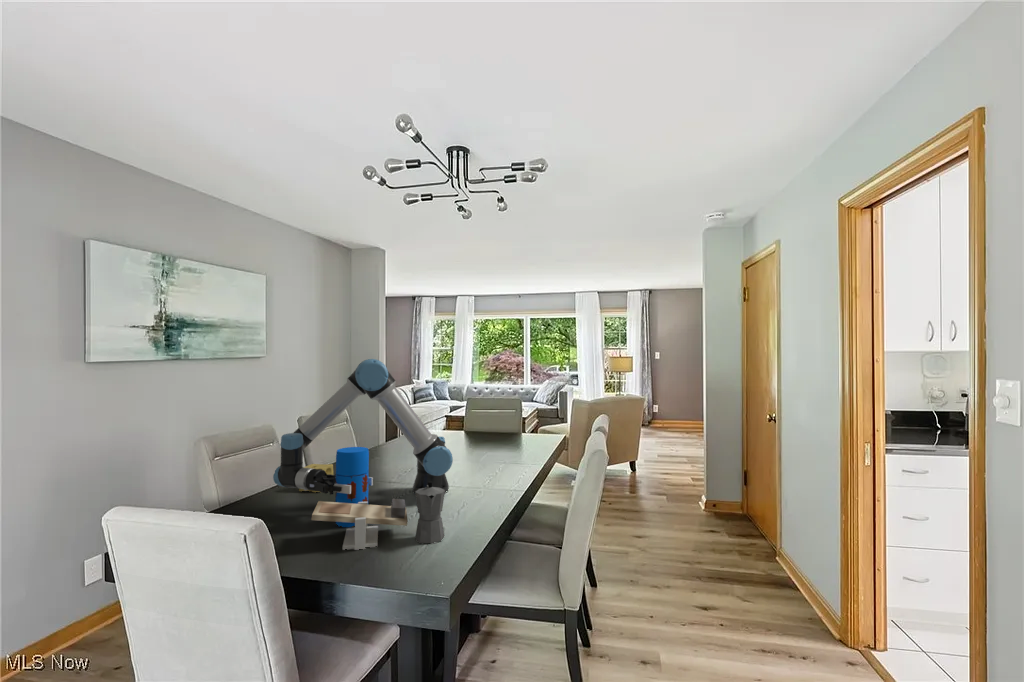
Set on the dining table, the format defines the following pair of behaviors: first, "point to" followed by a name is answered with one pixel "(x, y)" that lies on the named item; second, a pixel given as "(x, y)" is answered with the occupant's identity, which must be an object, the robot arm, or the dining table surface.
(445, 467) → the robot arm
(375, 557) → the dining table surface
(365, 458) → the thermos
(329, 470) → the cheese
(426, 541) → the coffeepot
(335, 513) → the beam
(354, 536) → the fulcrum
